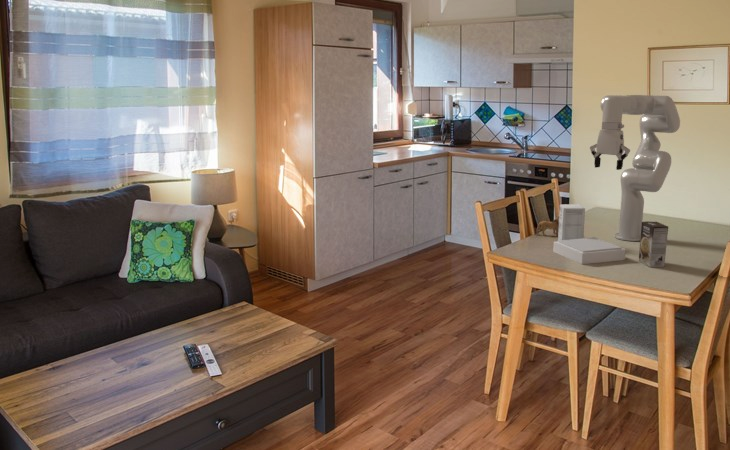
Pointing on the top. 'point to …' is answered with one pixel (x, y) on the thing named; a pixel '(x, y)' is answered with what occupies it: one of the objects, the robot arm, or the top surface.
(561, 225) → the supplement box
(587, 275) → the top surface
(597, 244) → the square tray
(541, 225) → the lion figurine
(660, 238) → the coffee box
